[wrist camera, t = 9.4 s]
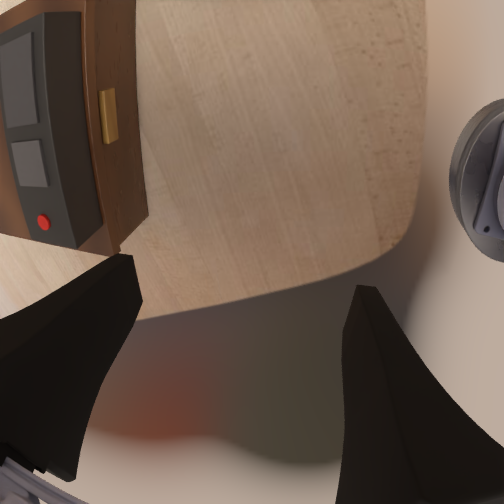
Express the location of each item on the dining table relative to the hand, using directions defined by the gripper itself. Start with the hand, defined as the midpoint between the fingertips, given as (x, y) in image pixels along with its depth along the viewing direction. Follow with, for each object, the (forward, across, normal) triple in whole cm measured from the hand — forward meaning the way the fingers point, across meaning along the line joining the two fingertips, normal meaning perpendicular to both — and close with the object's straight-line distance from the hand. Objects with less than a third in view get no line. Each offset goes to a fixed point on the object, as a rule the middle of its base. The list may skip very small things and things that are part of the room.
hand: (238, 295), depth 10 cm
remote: (+6, +11, -4) cm, 13 cm away
